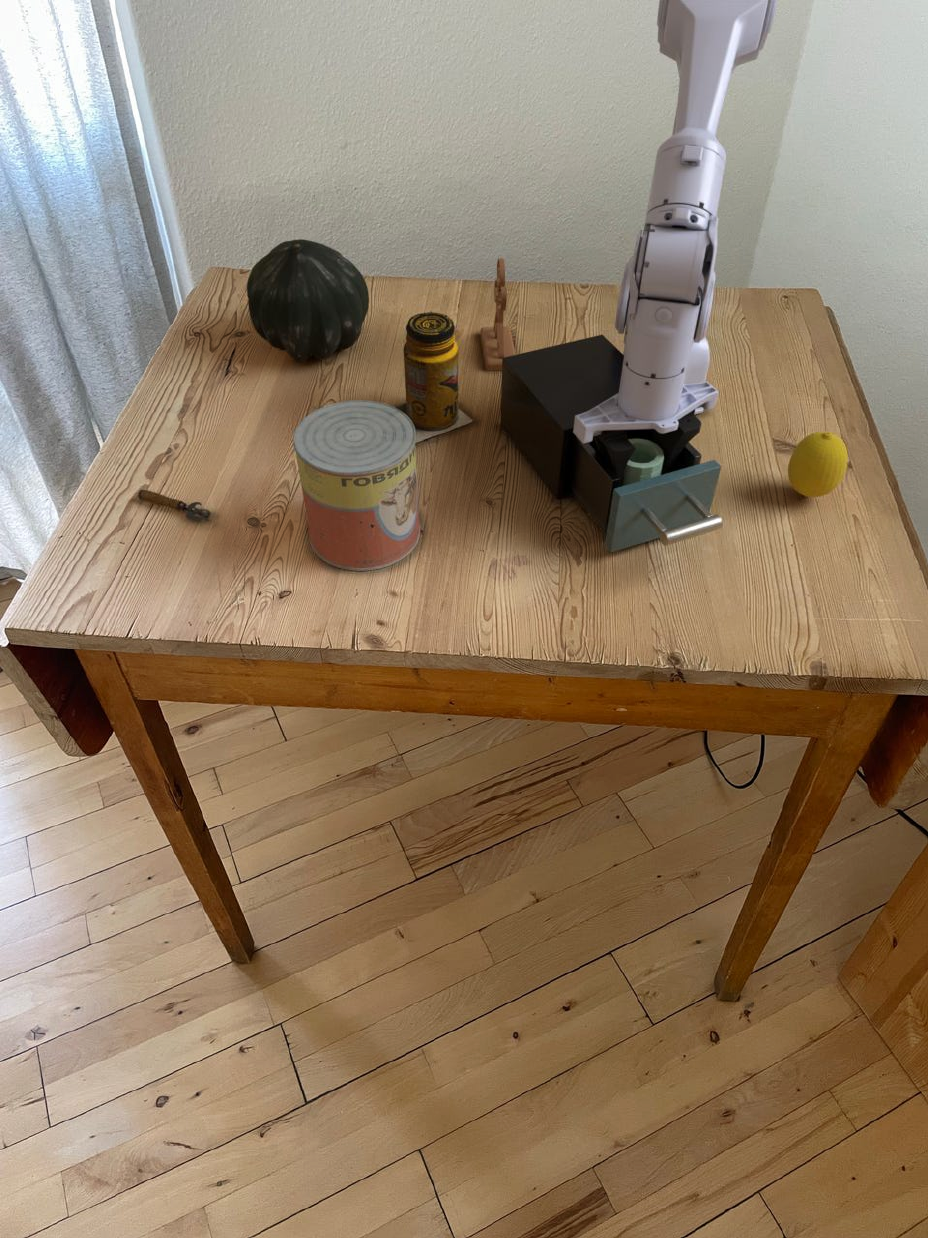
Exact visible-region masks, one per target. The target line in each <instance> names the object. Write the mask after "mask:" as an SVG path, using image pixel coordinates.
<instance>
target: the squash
mask: <svg viewBox="0 0 928 1238" xmlns="http://www.w3.org/2000/svg"><path fill="white" fill-rule="evenodd" d="M249 273H250V274H249V276H248V279H247V282H246V283H247V284H246V295H247V299H248V303H247V304H248V305H247V306H248V313H249V316H250V321H251V324H252V327H253V328H254V330H255V332H256V333H257V334H258V335H259V336H260V337H261V338H262V339H264V340H265V341H266V342H267V343H268V344H269V345H270V346H271V347H273V348H275V349H277V350H281V351H285V352H287V353H288V355H289V356H290V357H291V358H292V359H294V360H296V361H297V362H304V361H307V360H308V359H309V358H310V357H311V356H312V355H313V356H314V357H315V358H316V359H319V360H323V361H324V360H327V359H329V358H330V357H331V356H332V355H334V353H335V352H336V350H338V351H344V350H347V349H349V348H351V347H352V346H354V345H355V344H356V342H357V341H358V340H359V338H360V335H361V334H362V329H363V324H364V322H365V320H366V317H367V314H368V311H369V305H370V295H369V287H368V285H367V283H366V280H365V278H364V276H363V274H362V273H361V272H360V271H359V269H358V268H357V267H356V265H354V263H352V262H351V261H350V260H349V259H348V258H346V257H345V256H344V255H343V254H342V253H340V252H339V251H338V250H336V249H335V248H332V247H329V245H325V244H323V243H320V242H316V241H312V240H309V239H301V238H300V239H291V240H286V241H283V242H280V243H279V244H277V245H276V246H274V247H273V248H272V249H270V251H269V252H268V253H267V254H266V255H264V256H263V257H262V258H261V259H259V260H258V261H257V262H256V263H255V264H254V266H253V267H252V268H251V271H250V272H249Z"/></svg>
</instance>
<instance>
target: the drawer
mask: <svg viewBox="0 0 928 1238" xmlns="http://www.w3.org/2000/svg"><path fill="white" fill-rule="evenodd" d="M625 433H627V434H628V435H627V439H644V440H649V441H651V442H652V441H653V429H634V430H625ZM702 456H703V455H702V454H701V453H700V452H699V450H698V449H696V447H694V445H692V443H690V441H689V442H688V444H687V445H686V446H685V447H684V448H683V450H682V451H681V452H680V454H679V455H678V457H677V458H676V460H675V462H674V463H673V465H672V467H671V469H670V470H669V472H668V473H667V474H663V475H660V476H656V477H653V478H649V479H646V480H642V481H639V482H636V483H632V484H629V485H625V486H622V487H618V485H619V477H618V476H617V475H616V474H615V473H614V472H613V471H612V469H611V468H610V467H609V466H608V465H607V464H606V463H605V461H604V460H603V459H602V458H601V457H600V455H599V452H598V449H597V446H596V443H595V441H594V439H592V441H591V442H588V443H584V444H583V443H582V442H581V441H580V440H579V439H578V437H577V436H576V435H575V434H574V433H573V434H569V443H568V453H567V462H566V472H565V481H564V485H565V486H566V487H567V488H568V490H569V491H570V492H571V493H572V495H573V497H574V499H575V500H576V501H577V502H578V503H579V505H580V506H581V507H582V508H583V510H584V511H585V513H587V515H588V516H589V518H591V520H592V521H593V522H594V523H595V525H596V526H597V527H598V528H599V530H600V531H601V532H602V534H603V535H605V541H604V547H605V548H606V549H607V551H608V552H609V553H611V554H612V553H615V552H618V551H621V550H624V549H628V548H630V547H634V546H637V545H640V544H644V543H646V542H649V541H653V540H656V539H659V540H660V543H661V544H662V545H663V546H665V547H666V546H670V545H674V544H677V543H679V542H682V541H687V540H689V539H692V538H695V537H699V536H701V535H705V534H708V533H711V532H714V531H718V530H721V529H722V528H723V520H722V517H721V516H720V515H719V514H712V513H711V512H710V511H711V508H712V504H713V500H714V497H715V493H716V490H717V489H716V488H717V485H718V481H719V477H720V473H721V470H722V465H720V464H719V462H718V461H716V459H712V460H709V461H705V462H702V463H701V461H702Z"/></svg>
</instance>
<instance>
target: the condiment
mask: <svg viewBox="0 0 928 1238" xmlns="http://www.w3.org/2000/svg"><path fill="white" fill-rule="evenodd" d="M455 329H456V326H455V323H454V321H453V319H451V317H450V316H448V315H447V314H443V313H440V312H433V311H429V312H427V311H426V312H421V313H417V314H414V315H412V316H411V317H410V318H409V319H408V321H407V323H406V325H405V331H406V334H405V343H404V346H403V351H402V352H403V364H404V365H403V368H404V388H405V402H403V403H401V404H400V405H399V404H398V405H396V406H394V407H395V408H397V409H399V410H400V411H402V412H403V413H405V414H406V415H407V416H408V417H409V418H410V419H411V421H412V422H413V424H414V427H415V430H416V440H415V444H417V443H420V442H423V441H424V440H427V439H430V438H433V437H435V436H439V435H442V434H445V433H447V432H450V431H452V430H456V429H457V428H460V427H463V426H465V425H468V424H470V423H472V422H473V419H471V417H470V416H469V415H467V414H466V413H464V412H463V411H462V410H461V409H460V408H459V390H460V389H459V346H458V343H457V341H456V335H455V332H456V331H455Z"/></svg>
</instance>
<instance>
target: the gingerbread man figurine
mask: <svg viewBox="0 0 928 1238" xmlns="http://www.w3.org/2000/svg"><path fill="white" fill-rule="evenodd" d="M507 294H508V292H507V286H506V266H505V259H504V258H503V257H502V258H497V261H496V278H495V279H494V287H493V297H494V303H495V314H494V322H493V326H483V327H481V328H480V340H481V346H482V347H481V348H482V350H483V351H482V353H483V359H484V365H485V369H486V371H488V372H491V371H502V358H504V357H508V356H513V355H517V354H516V350H515V346H514V345H515V344H514V339H513V334H512V332H511V331H512V329H511V327H510V326H508V325H507V326H504V312H506V309H507V303H508V302H507V301H508V300H507V299H508V295H507Z"/></svg>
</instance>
